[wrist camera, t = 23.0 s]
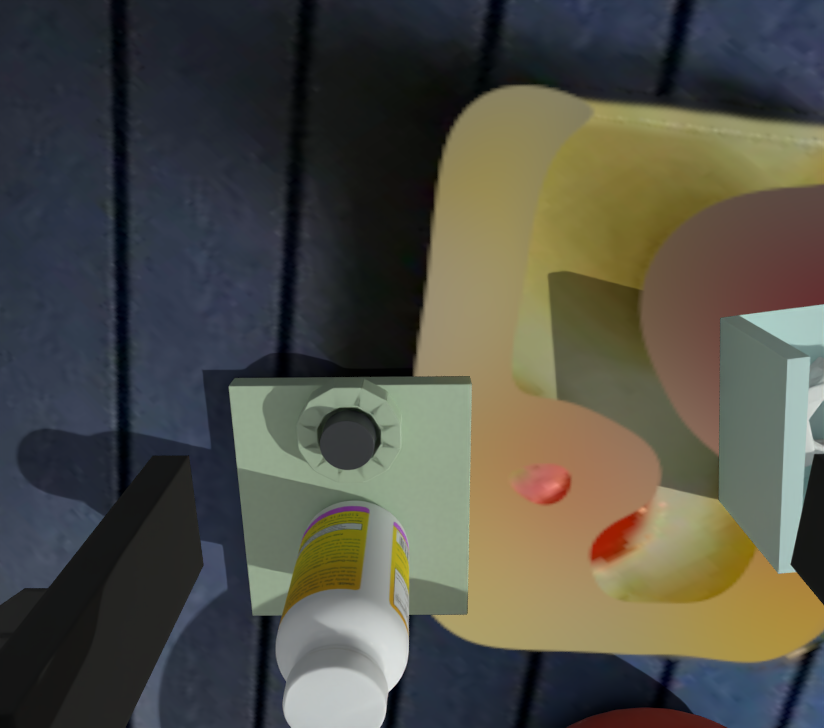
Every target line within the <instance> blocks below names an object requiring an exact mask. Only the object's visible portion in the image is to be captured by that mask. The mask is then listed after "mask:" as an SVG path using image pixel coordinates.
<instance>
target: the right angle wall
mask: <svg viewBox="0 0 824 728" xmlns="http://www.w3.org/2000/svg"><path fill="white" fill-rule="evenodd" d="M719 422H720V423H719V501H720V502H721V504H722V505H723V506H724V507H725V509H726V510H727V511H728V512H729V513H730V515H731V516H732V517H733V518H734V520H735V521H736V522H737V523H738V525H739V526H740V527H741V528H742V529H743V531H744V532H745V533H746V534H747V536H748V537H749V538H750V539H751V540H752V542H753V543H754V544H755V545H756V547H757V548H758V549H759V550H760V552H761V553H762V554H763V555H764V556H765V557H766V559H767V560H768V561H769V562H770V564H771V565H772V566H773V567H774V569H775V570H776V571H777V572H778V573H779V574H780V573H789V572H796V571H795V570H794V568H793V567H792V566H791V565H790V564H791V559H792V555H793V550H794V545H795V541H796V536H797V531H798V527H799V522H800V517H801V513H802V508H803V504H804V499H805V494H806V490H807V485H808V480H809V476H810V471H811V466H812V462H813V457H814V454H824V304H823V305H815V306H808V307H801V308H792V309H785V310H777V311H769V312H761V313H753V314H747V315H738V316H730V317H723V318H720V415H719Z"/></svg>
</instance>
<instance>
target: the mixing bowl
mask: <svg viewBox="0 0 824 728" xmlns="http://www.w3.org/2000/svg"><path fill="white" fill-rule="evenodd" d="M566 728H727V727H725V726H723V725H721V724H718V723H716V722H714V721H712V720H709V719H707V718H704V717H701V716H698V715H694V714H690V713H686V712H682V711H677V710H672V709H664V708H648V707H647V708H629V709H619V710H613V711H609V712H605V713H601V714H598V715H593V716H591V717H588V718H585V719H583V720H581V721H578V722H576V723H574V724H572V725H570V726H568V727H566Z"/></svg>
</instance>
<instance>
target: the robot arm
mask: <svg viewBox="0 0 824 728" xmlns="http://www.w3.org/2000/svg"><path fill="white" fill-rule="evenodd" d="M790 565H791V566H792V567H793V568H794V570H795V571H796V572H797V573H798V574H799V575H800V577H801V578H802V579H803V580H804V582H805V583H806V584H807V585H808V586H809V588H810V589H811V590H812V591H813V592H814V594H815V595H816V596H817V597H818V599H819V600H820V601H821V602H822V603H823V605H824V454H814V457H813V462H812V466H811V471H810V476H809V480H808V485H807V490H806V494H805V499H804V504H803V508H802V513H801V517H800V522H799V527H798V531H797V536H796V541H795V545H794V550H793V555H792V559H791V564H790ZM202 567H203V557H202V550H201V542H200V535H199V527H198V520H197V513H196V505H195V498H194V490H193V483H192V475H191V468H190V460H189V456H152V457H151V459H150V460H149V461H148V462H147V464H146V465H145V466H144V467H143V469H142V470H141V471H140V473H139V474H138V475H137V476H136V478H135V479H134V480H133V481H132V483H131V484H130V485H129V486H128V488H127V489H126V490H125V492H124V493H123V494H122V495H121V497H120V498H119V499H118V500H117V502H116V503H115V504H114V506H113V507H112V508H111V509H110V511H109V512H108V513H107V514H106V516H105V517H104V518H103V519H102V521H101V522H100V523H99V525H98V526H97V527H96V528H95V530H94V531H93V532H92V533H91V535H90V536H89V537H88V539H87V540H86V541H85V542H84V544H83V545H82V546H81V547H80V549H79V550H78V551H77V552H76V554H75V555H74V556H73V558H72V559H71V560H70V561H69V563H68V564H67V565H66V566H65V568H64V569H63V570H62V572H61V573H60V574H59V575H58V577H57V578H56V579H55V580H54V582H53V583H52V584H51V586H50V587H49V588H25V589H23V590H22V591H20V592H19V593H17V594H16V595H14V596H13V597H11V598H10V599H9V600H7V601H6V602H4V603H3V604H1V605H0V728H125V727H126V725H127V723H128V721H129V719H130V717H131V715H132V713H133V710H134V708H135V706H136V704H137V702H138V700H139V698H140V696H141V694H142V692H143V690H144V688H145V686H146V683H147V681H148V679H149V677H150V675H151V673H152V671H153V669H154V667H155V665H156V663H157V661H158V659H159V656H160V654H161V652H162V650H163V648H164V646H165V644H166V642H167V640H168V638H169V636H170V634H171V632H172V629H173V627H174V625H175V623H176V621H177V619H178V617H179V615H180V613H181V611H182V609H183V607H184V605H185V602H186V600H187V598H188V596H189V594H190V592H191V590H192V588H193V586H194V584H195V582H196V580H197V578H198V576H199V573H200V571H201V569H202Z"/></svg>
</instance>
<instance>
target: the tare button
mask: <svg viewBox="0 0 824 728" xmlns="http://www.w3.org/2000/svg"><path fill="white" fill-rule="evenodd" d="M375 439H376V431H375V427H374V425H373V423H372V421H371V420H370V419H369V418H368V417H367V416H366V415H364V414H363V413H360V412H358V411H354V410H343V411H339V412H337V413H335V414H333V415H332V416H331V417H330V418H329V419H328V420H327V422H326V423H325V426H324V429H323V432H322V435H321V438H320V450H321V453H322V455H323V457H324V459H325V460H326V461H327V462H328V463H329V464H331V465H332V466H334V467H336V468H338V469H342V470H354V469H357V468H360V467H362V466H363V465H365V464H366V463H367V462H368V461H369V460H370V459H371V457H372V455H373V452H374V447H375Z"/></svg>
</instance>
